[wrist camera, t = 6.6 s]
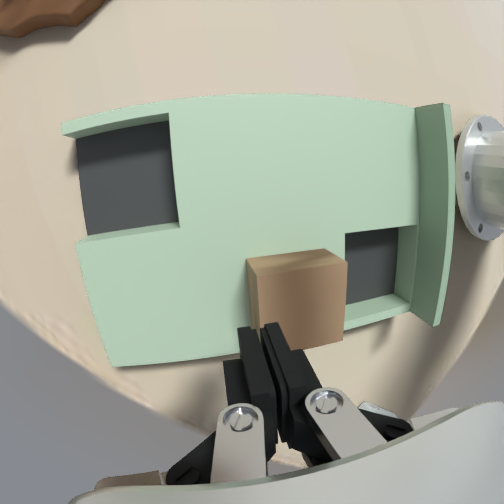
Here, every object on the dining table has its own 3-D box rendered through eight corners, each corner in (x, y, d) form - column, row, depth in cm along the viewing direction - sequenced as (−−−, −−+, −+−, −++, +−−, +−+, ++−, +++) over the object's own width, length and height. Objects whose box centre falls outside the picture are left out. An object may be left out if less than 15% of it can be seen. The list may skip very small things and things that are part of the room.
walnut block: (324, 248, 18) (347, 262, 15) (323, 318, 19) (342, 340, 16) (245, 258, 17) (256, 275, 14) (251, 331, 18) (262, 358, 16)
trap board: (401, 112, 19) (449, 104, 14) (400, 297, 24) (439, 324, 18) (76, 128, 15) (38, 114, 10) (118, 347, 20) (103, 394, 14)
